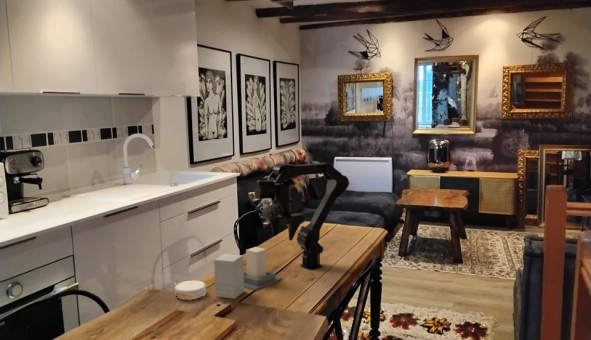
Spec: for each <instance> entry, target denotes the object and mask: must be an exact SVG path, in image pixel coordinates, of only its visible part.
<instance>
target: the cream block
mask: <svg viewBox="0 0 591 340" xmlns="http://www.w3.org/2000/svg"><path fill="white" fill-rule="evenodd" d="M245 250H246V251H245V253H246V254H245V255H246V258H245V259H246V261H245V262H246V265H245V266H246V271H247V277H250V278H253V279H259V278H262V277H265V276H266V271H267V248H263V247H260V246H259V247H258V246H254V247H251V248H248V249H245Z"/></svg>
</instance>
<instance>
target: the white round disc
mask: <svg viewBox="0 0 591 340" xmlns="http://www.w3.org/2000/svg"><path fill="white" fill-rule="evenodd" d="M206 284H207V283H205V282H203V281H202V280H201V281H200V280H186V281H181V282H178V283H177V284H176V285H175V286H174V291H175V292H177V293H180V294H185V295H190V296H204V297H205V296H206V295H207V285H206ZM175 292H174V293H175Z"/></svg>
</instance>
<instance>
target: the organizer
mask: <svg viewBox="0 0 591 340" xmlns="http://www.w3.org/2000/svg"><path fill="white" fill-rule="evenodd" d="M243 278H244V289H249V290H252V291H257V290H261V289H262V288H265V287H267V286H269V285H271V284H275V283H277V282H279V281H281V280H283V278H282V277H281V276H276V273H275V272H272V271H267V270H266V276H265V277H262V278H259V279H253V278H250V277H247V270H245V271H243Z"/></svg>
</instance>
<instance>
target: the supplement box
mask: <svg viewBox="0 0 591 340" xmlns="http://www.w3.org/2000/svg"><path fill="white" fill-rule="evenodd" d="M213 263H214V292H215V295H214V296H215V297H218V298H224V299H234V300H235V299H237V298H238V297H239V296H240V295H242V293H244V292H245V287H244V278H243V273H244V255H241V254H230V253H223V254H222V255H220V256H218V257H216V258H215V259H214V260H213Z"/></svg>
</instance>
